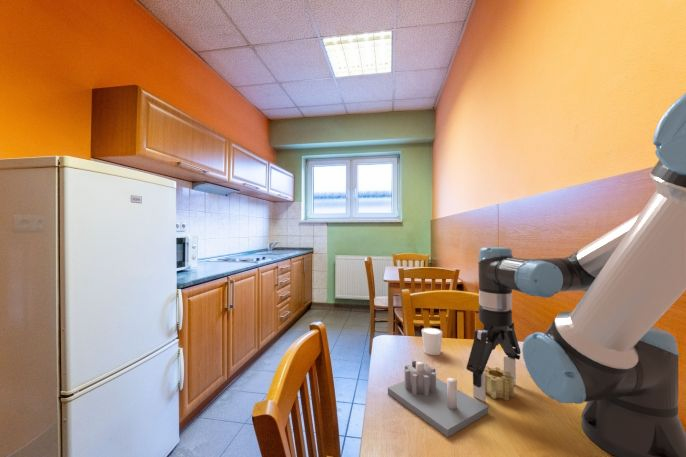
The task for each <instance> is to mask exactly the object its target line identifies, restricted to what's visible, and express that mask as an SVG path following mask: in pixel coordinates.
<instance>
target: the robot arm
mask: <svg viewBox="0 0 686 457" xmlns="http://www.w3.org/2000/svg"><path fill="white" fill-rule="evenodd" d="M652 137H653V140H652V141H653V142H652V143H653V145H654V146H655V147H656V150H655V151H654V152H655V156H656V158H657V159H658V161H657V162H656V164H655V166H654V167H653V169H652V170H651V172H650V173H649V177H650V179H651V181H652V183H653V184H654V186H655V191H654V192H653V194H652V195H651V197H650V199H648V201H647V203H646V204H645V206H644V208H642V210H641V211H640V212H639V213H637V214H635V215H634V216H632V217H630V218H629V219H628V220H625V221H623V222H622V223H621V224H619V225H618V226H615V227H614V228H612V229H610V230H609V231H608V232H606V233H605V234H602V236H599V237H598V238H597V239H594V240H593V241H592V242H590V243H588V244H587V245H584V246H583V247H582V248H580V249H579V250H577V251H576V252H573V253H572V254H570V255H568V256H566V257H555V258H521V257H513V253H512V252H513V250H512V249H511V248H509V247H505V246H483V247H481V248H480V249H479V250H478V252H479V253H478V261H477V263H478V304H479V305H480V306H479V307H478V321H479V322H481V324H482V325H483V327H482V330H480V329H477V328H476V329H475V330H474V336H473V338H474V339H473V342H472V345H471V350H470V354H469V356H468V360H467V363H466V370H467V371H469V372H471V373H472V385H473V388H472V390H473V391H472V392H473V393H472V395H473V397H474V398H476V399H478V400H479V401H480V402H486V397H487V396H486V394H487V393H486V391H485V373H483V372H484V369H485V367H486V366H487V364H488V361H489V360H490V356H491V355H492V351H495V349H496V348H497V346H499V345H500V347H501V349H502V350H503V352H504V354H505V355H504V356H503V371H509V372H510V373H511V377H514V386H515V385H516V383H517V382H516V379H517V378H516V372H517V371H516V360H520V359H521V352H522V357H523V358H522V359H523V361H524V365H525V368H526V370H527V372H528V375H529V377H530V378H531V379H532V381H533V382H534V384H535V385H536V387H537V388H538V389H539V390H540V391H541V392H542V393H543V394H545V395H546V396H547V397H549V398H550V399H552V400H553V401H557V402H558V403H561V404H577V405H579V404H580V405H582V404H584V403H586V404H585V406H584V408H583V410H582V412H581V428H582V431H583V432H584V433H585V435H586V436H587V437H588V438H589V439H590V440H591V441H592V442H593V443H594V444H595V445H596V446H599V448H600V449H602V450H604V451H606V452H607V453H609V454H610V455H612V456H614V457H686V431H685V429H684V427H683V424H682V421H681V420H680V416H679V358H680V353H679V351H678V342H677V341H678V340H677V338H676V337H675V336H674V335H673V334H672V333H671V332H669V331H667V330H664V329H662V328H659V327H655V326H654V325H655V324H656V323H657V322H658V321H659V320H660V319H661V318H662V317H663V315H665V313H667V311H668V310H669V309H671V308H670V307H672V306H673V305H674V303H675V302H677V300H678V299H679V298H680V297H681V296H682V295H683V294H684V293H685V291H686V92H685V93H684V94H682V95H681V96H680V97H678V98H677V99H676V100H675V101H674V102H673V103H672V104H671V105H670V106H669V107H668V108H667V110H666V111H665V112H664V114H663V115H662V117H661V118H660V119H659V121H658V122H657V125H656V127H655V131H654V134H653V136H652ZM513 291H516V292H519V293H524V294H526V295H529V296H531V297H537V298H538V297H539V298H545V299H546V298H551V297H554V295H556V294H558V293H563V292H564V293H565V292H585V293H584V295H583V296H582V297H581V299H580V301H578V303H577V304H576V306H575V307H574V309H573V310H566V311H562V312H559V313H558V314H557V315H556V316H555V317H554V319H553V320H552V322H551V324H550V325H549V326H548V328H547V330H545V331H544V332H542V331H536V332H534V333H531V334H528V335H527V336H526V337H525V339H524V340H523V343H522V348H521V347H520V345H519V341H518V338H517V334H516V332H515V323H514V322H513V310H512V309H513ZM521 349H522V351H521Z"/></svg>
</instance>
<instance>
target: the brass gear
mask: <svg viewBox="0 0 686 457" xmlns="http://www.w3.org/2000/svg"><path fill="white" fill-rule="evenodd" d="M483 373H485V391H486V394H487V395H489V396H490V397H491V399H494V400H497V398H498V399H503V400H504V401H509V400H510V397H512V398H514V397H515V385H514V377H511V373H510V372H509V371H504V369H501V367H499V366H498V367H497V366H496V367H490V366H488V365H486V367H485V369H484V372H483Z"/></svg>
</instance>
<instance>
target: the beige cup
mask: <svg viewBox="0 0 686 457" xmlns="http://www.w3.org/2000/svg"><path fill="white" fill-rule="evenodd" d="M421 337H422V338H421V339H422V347H423V348H422V349H423V352H424V353H425V354H427V355H430V356H438V355H441V353H442V352H441V351H442V342H443V331H442V330H441V329H439V328H434V327H424V328H422V329H421Z"/></svg>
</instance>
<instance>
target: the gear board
mask: <svg viewBox="0 0 686 457" xmlns="http://www.w3.org/2000/svg"><path fill="white" fill-rule="evenodd" d="M411 361H412V362H411V364H410V365H409V364H405V365H404V381H401V382H398V383H395V384H394V385H393V384H392V385H391V386H388V387H387V394H388V395H389V396H390V397H391V398H393V399H395V400H396V401H398V402H399V403H400V404H402V405H403V406H405V407H406V409H409V410H410V411H411V412H412V413H414V414H415V415H417V417H419V418H421V419H422V420H424V421H425V422H426V423H427V424H428V425H430V426H431V427H433V428H434V429H436V430H437V431H438V432H440V434H442V435H444V436H445V437H447V438H449V437H451V436H452V435H454V434H456V433H457V432H459V431H460V430H462V429H464V428H466V427H467V426H469V425H471V424H472V423H474V422H475V421H477V420H479V419H481V418H483V417H484V416H486V415H488V414H489V406H488V405H487V404H484V403H482V401H480V400H477V398H476V399H475V397H474V398H473V397H472V396H470V395H468V394H467V393H464V392H463V391H461V390H458V389H457V388H458V387H457V386H458V385H457V384H458V382H457V379H455V378H453V377H447V379H446V382H444V381H443V380H440V379H439V378H437V373H436V368H435V367H434V366H432V367H430V366H428V363H425V362H423V361H416V360H411Z"/></svg>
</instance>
